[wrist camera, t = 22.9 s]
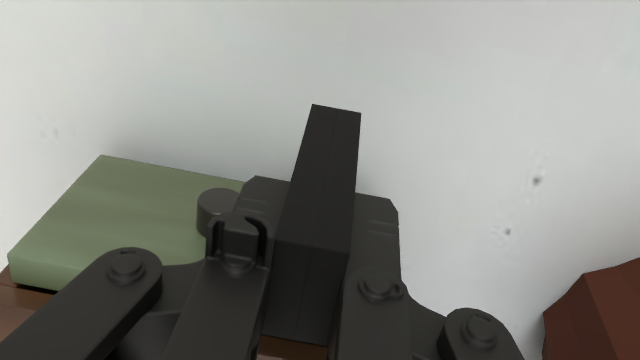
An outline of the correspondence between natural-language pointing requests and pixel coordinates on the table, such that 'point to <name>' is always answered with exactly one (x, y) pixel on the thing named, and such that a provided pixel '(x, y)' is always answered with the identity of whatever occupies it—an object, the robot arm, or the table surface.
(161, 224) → the drawer
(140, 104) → the table surface
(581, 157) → the table surface
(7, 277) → the cabinet
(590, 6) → the table surface
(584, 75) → the table surface
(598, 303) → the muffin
